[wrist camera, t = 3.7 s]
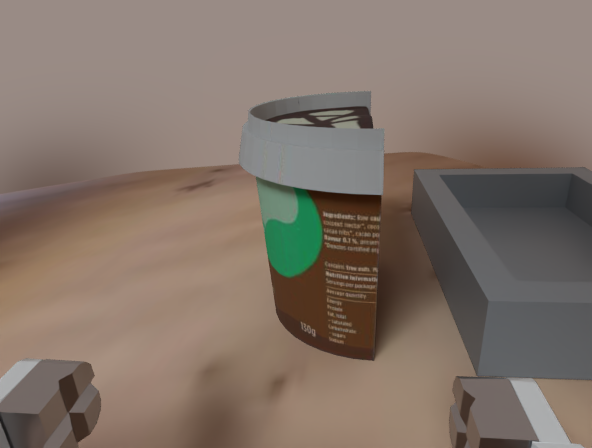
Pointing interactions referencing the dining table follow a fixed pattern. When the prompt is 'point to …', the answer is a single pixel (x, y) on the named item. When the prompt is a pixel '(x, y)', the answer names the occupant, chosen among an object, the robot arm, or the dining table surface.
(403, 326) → the dining table surface
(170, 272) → the dining table surface
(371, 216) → the food container
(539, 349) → the tray
